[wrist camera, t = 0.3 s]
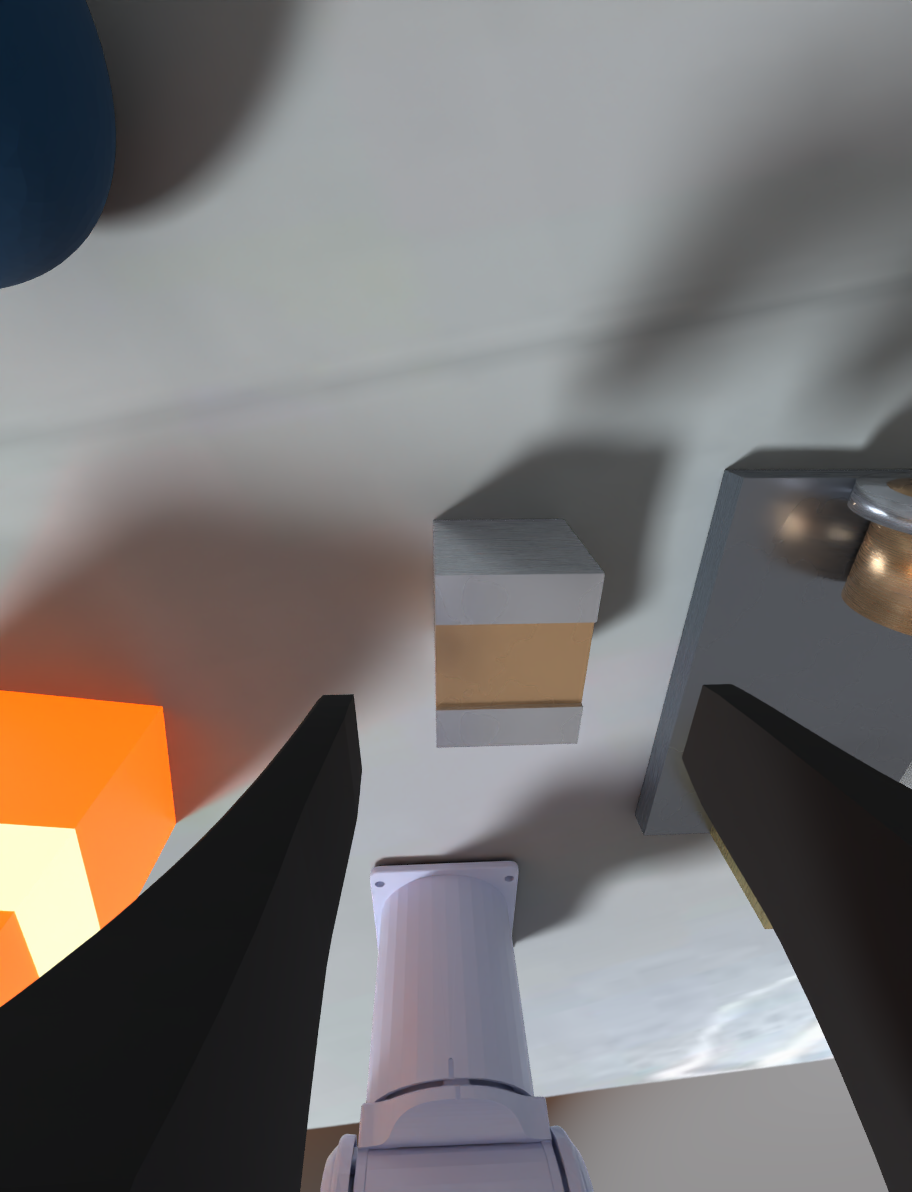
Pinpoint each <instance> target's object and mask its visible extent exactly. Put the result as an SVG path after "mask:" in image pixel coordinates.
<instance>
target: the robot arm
mask: <svg viewBox="0 0 912 1192" xmlns="http://www.w3.org/2000/svg"><path fill="white" fill-rule="evenodd" d="M682 760H683V763H684V765H685V768H686V770H687V772H688V775H689V777H690V780H691V782H692V785H693V787H694V789H695V791H696V794H697V796H698V798H699V800H700V803H701V805H702V807H703V808H704V810H705V812H706V814H707V815H708V817H709V819H710V821H711V822H712V824H713V826H714V828H715V829H716V831H717V833H718V835H719V836H720V838H721V840H722V841H723V843H724V845H725V847H726V848H727V850H728V852H729V853H730V855H731V857H732V858H733V860H734V862H735V863H736V865H737V867H738V869H739V870H740V872H741V874H742V875H743V877H744V879H745V880H746V882H747V884H748V886H749V887H750V889H751V891H752V892H753V894H754V896H755V897H756V899H757V901H758V902H759V904H760V906H761V908H762V909H763V911H764V913H765V914H766V916H767V918H768V920H769V922H770V923H771V925H772V927H773V929H774V931H775V933H776V935H777V936H778V938H779V940H780V942H781V944H782V946H783V948H784V950H785V952H786V954H787V956H788V959H789V961H790V963H791V965H792V967H793V969H794V971H795V973H796V975H797V977H798V979H799V982H800V984H801V986H802V988H803V990H804V992H805V994H806V996H807V998H808V1000H809V1003H810V1005H811V1007H812V1009H813V1011H814V1014H815V1016H816V1018H817V1020H818V1023H819V1025H820V1027H821V1029H822V1032H823V1034H824V1036H825V1038H826V1041H827V1043H828V1045H829V1047H830V1049H831V1052H832V1054H833V1056H834V1058H835V1061H836V1063H837V1065H838V1067H839V1070H840V1072H841V1074H842V1077H843V1079H844V1082H845V1084H846V1086H847V1089H848V1091H849V1094H850V1096H851V1098H852V1101H853V1103H854V1106H855V1108H856V1111H857V1113H858V1115H859V1118H860V1120H861V1122H862V1125H863V1127H864V1130H865V1132H866V1135H867V1137H868V1139H869V1142H870V1144H871V1147H872V1149H873V1152H874V1154H875V1157H876V1159H877V1162H878V1164H879V1167H880V1170H881V1172H882V1175H883V1178H884V1180H885V1183H886V1185H887V1188H888V1191H889V1192H912V789H910V788H908V787H906V786H905V785H903V784H901V783H899V782H897V781H896V780H894V779H892V778H890V777H888V776H887V775H885V774H883V773H881V772H879V771H878V770H876V769H874V768H872V767H871V766H869V765H867V764H866V763H864V762H862V761H860V760H859V759H857V758H855V757H854V756H852V755H850V754H848V753H847V752H845V751H843V750H842V749H840V748H838V747H837V746H835V745H833V744H832V743H830V742H828V741H827V740H825V739H823V738H822V737H820V736H819V735H817V734H815V733H814V732H812V731H810V730H809V729H807V728H805V727H804V726H802V725H801V724H799V723H797V722H796V721H794V720H792V719H791V718H789V717H788V716H786V715H784V714H783V713H781V712H779V711H778V710H776V709H774V708H773V707H771V706H770V705H768V704H766V703H765V702H763V701H761V700H760V699H758V698H756V697H754V696H753V695H751V694H749V693H747V692H746V691H744V690H742V689H740V688H738V687H736V686H734V685H732V684H710V685H703V686H702V689H701V693H700V696H699V699H698V703H697V706H696V710H695V713H694V717H693V720H692V724H691V727H690V731H689V734H688V738H687V741H686V745H685V748H684V752H683V755H682ZM361 774H362V765H361V756H360V747H359V738H358V730H357V721H356V712H355V703H354V694H352V695H323V696H322V697H321V698H320V699H319V700H318V701H317V702H316V704H315V705H314V706H313V708H312V709H311V711H310V712H309V713H308V715H307V716H306V717H305V719H304V720H303V721H302V723H301V724H300V725H299V727H298V728H297V729H296V731H295V732H294V733H293V735H292V736H291V737H290V739H289V740H288V741H287V742H286V744H285V745H284V746H283V748H282V749H281V750H280V751H279V752H278V754H277V755H276V756H275V757H274V759H273V760H272V761H271V762H270V763H269V765H268V766H267V767H266V768H265V770H264V771H263V772H262V773H261V774H260V776H259V777H258V778H257V779H256V780H255V781H254V783H253V784H252V785H251V786H250V787H249V788H248V789H247V790H246V791H245V793H244V794H243V795H242V796H241V797H240V798H239V799H238V800H237V801H236V803H235V804H234V805H233V806H232V807H231V808H230V809H229V810H228V811H227V812H226V814H225V815H224V816H223V817H222V818H221V819H220V820H219V821H218V822H217V823H216V824H215V825H214V826H213V827H212V828H211V829H210V830H209V831H208V832H207V833H206V834H205V835H204V836H203V837H202V838H201V839H200V840H199V841H198V842H197V843H196V844H195V845H194V846H193V847H192V848H191V849H190V850H189V851H188V852H187V853H186V854H185V855H184V856H183V857H182V858H181V859H180V860H179V861H178V862H177V863H176V864H175V865H173V866H172V867H171V868H170V869H169V870H168V871H167V872H166V873H165V874H164V875H163V876H161V877H160V878H159V879H158V880H157V881H156V882H155V883H154V884H152V885H151V886H150V887H149V888H148V889H147V890H146V891H145V892H143V893H142V894H141V895H140V896H139V897H138V898H137V899H136V900H135V901H133V902H132V903H131V904H130V905H129V906H128V907H126V908H125V909H124V910H123V911H122V912H121V913H120V914H118V915H117V916H116V917H115V918H114V919H112V920H111V921H110V922H109V923H108V924H106V925H105V926H104V927H103V928H102V929H100V930H99V931H98V932H97V933H96V934H94V935H93V936H92V937H91V938H89V939H88V940H87V941H85V942H84V943H83V944H82V945H80V946H79V947H78V948H77V949H75V950H74V951H73V952H71V953H70V954H69V955H68V956H66V957H65V958H64V959H63V960H61V961H60V962H59V963H57V964H56V965H55V966H54V967H52V968H51V969H50V970H49V971H47V972H46V973H45V974H43V975H42V976H41V977H40V978H38V979H37V980H36V981H34V982H33V983H32V984H30V985H29V986H28V987H26V988H25V989H24V990H22V991H21V992H20V993H19V994H17V995H16V996H15V997H13V998H12V999H10V1000H9V1001H8V1002H6V1003H5V1004H4V1005H2V1006H1V1007H0V1192H300V1187H301V1178H302V1168H303V1159H304V1151H305V1141H306V1132H307V1123H308V1114H309V1105H310V1096H311V1088H312V1080H313V1071H314V1063H315V1054H316V1046H317V1038H318V1029H319V1022H320V1014H321V1006H322V998H323V990H324V983H325V975H326V967H327V961H328V956H329V950H330V944H331V939H332V934H333V929H334V924H335V920H336V915H337V910H338V906H339V901H340V896H341V892H342V887H343V882H344V878H345V873H346V868H347V864H348V859H349V854H350V850H351V845H352V840H353V835H354V831H355V826H356V821H357V814H358V804H359V795H360V785H361ZM518 874H519V870H518V865H517V863H516V862H513V861H491V862H466V863H442V864H417V865H393V866H377V867H374V868H373V869H372V870H371V873H370V883H371V892H372V901H373V909H374V918H375V927H376V936H377V945H378V963H377V975H376V987H375V999H374V1012H373V1024H372V1036H371V1048H370V1061H369V1073H368V1085H367V1098H366V1103H364V1104H363V1105H362V1106H361V1117H360V1129H359V1141H358V1147H357V1136H356V1135H351V1134H345V1135H343V1136H342V1137H341V1139H340V1142H339V1145H338V1146H337V1147H336V1148H335V1149H334V1150H333V1152H332V1153H331V1154H330V1156H329V1157H328V1159H327V1161H326V1165H325V1169H324V1173H323V1179H322V1184H321V1189H320V1192H594V1190H593V1187H592V1183H591V1180H590V1177H589V1174H588V1170H587V1168H586V1165H585V1162H584V1160H583V1158H582V1156H581V1154H580V1152H579V1151H578V1149H577V1148H576V1146H575V1145H574V1144H573V1143H572V1141H571V1140H570V1138H569V1136H568V1134H567V1133H566V1132H565V1131H564V1129H563V1128H562V1127H560V1126H551V1127H550V1126H549V1119H548V1113H547V1106H546V1100H545V1098H544V1097H534V1092H533V1085H532V1077H531V1070H530V1063H529V1056H528V1049H527V1042H526V1035H525V1027H524V1020H523V1013H522V1006H521V999H520V992H519V985H518V977H517V970H516V963H515V956H514V949H513V942H512V929H513V920H514V911H515V902H516V893H517V883H518Z"/></svg>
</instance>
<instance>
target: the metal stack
mask: <svg viewBox="0 0 912 1192" xmlns="http://www.w3.org/2000/svg"><path fill="white" fill-rule="evenodd" d="M710 684H732V685H734V686H736V687H738V688H740V689H742V690H744V691H746V692H747V693H749V694H751V695H753V696H754V697H756V698H758V699H760V700H761V701H763V702H765V703H766V704H768V705H770V706H771V707H773V708H774V709H776V710H778V711H779V712H781V713H783V714H784V715H786V716H788V717H789V718H791V719H792V720H794V721H796V722H797V723H799V724H801V725H802V726H804V727H805V728H807V729H809V730H810V731H812V732H814V733H815V734H817V735H819V736H820V737H822V738H823V739H825V740H827V741H828V742H830V743H832V744H833V745H835V746H837V747H838V748H840V749H842V750H843V751H845V752H847V753H848V754H850V755H852V756H854V757H855V758H857V759H859V760H860V761H862V762H864V763H866V764H867V765H869V766H871V767H872V768H874V769H876V770H878V771H879V772H881V773H883V774H885V775H887V776H888V777H890V778H892V779H894V780H896V781H897V782H899V781H900V779H901V778H902V776H903V774H904V773H905V771H906V769H907V768H908V766H909V764H910V763H911V761H912V470H725V471H724V475H723V479H722V483H721V487H720V491H719V494H718V498H717V502H716V506H715V510H714V514H713V518H712V521H711V525H710V529H709V533H708V537H707V541H706V544H705V548H704V552H703V556H702V560H701V564H700V568H699V571H698V575H697V579H696V583H695V587H694V591H693V594H692V598H691V602H690V606H689V610H688V614H687V618H686V621H685V625H684V629H683V633H682V637H681V641H680V644H679V648H678V652H677V656H676V660H675V664H674V668H673V671H672V675H671V679H670V683H669V687H668V691H667V694H666V698H665V702H664V706H663V710H662V714H661V718H660V721H659V725H658V729H657V733H656V737H655V741H654V744H653V748H652V752H651V756H650V760H649V764H648V768H647V771H646V775H645V779H644V783H643V787H642V791H641V794H640V798H639V802H638V806H637V810H636V814H635V816H636V818H637V820H638V823H639V825H640V827H641V829H642V832H643V834H644V835H665V834H691V833H710V834H711V836H712V837H713V839H714V841H715V843H716V844H717V846H718V848H719V850H720V851H721V853H722V855H723V857H724V858H725V860H726V862H727V864H728V865H729V867H730V869H731V871H732V872H733V874H734V876H735V878H736V879H737V881H738V883H739V885H740V886H741V888H742V890H743V892H744V893H745V895H746V897H747V899H748V900H749V902H750V904H751V906H752V907H753V909H754V911H755V913H756V914H757V916H758V918H759V920H760V921H761V923H762V925H763V927H764V928H765V929H773V927H772V925H771V923H770V922H769V920H768V918H767V916H766V914H765V913H764V911H763V909H762V908H761V906H760V904H759V902H758V901H757V899H756V897H755V896H754V894H753V892H752V891H751V889H750V887H749V886H748V884H747V882H746V880H745V879H744V877H743V875H742V874H741V872H740V870H739V869H738V867H737V865H736V863H735V862H734V860H733V858H732V857H731V855H730V853H729V852H728V850H727V848H726V847H725V845H724V843H723V841H722V840H721V838H720V836H719V835H718V833H717V831H716V829H715V828H714V826H713V824H712V822H711V821H710V819H709V817H708V815H707V814H706V812H705V810H704V808H703V807H702V805H701V803H700V800H699V798H698V796H697V794H696V791H695V789H694V787H693V785H692V782H691V780H690V777H689V775H688V772H687V770H686V768H685V765H684V763H683V760H682V755H683V752H684V748H685V745H686V741H687V738H688V734H689V731H690V727H691V724H692V720H693V717H694V713H695V710H696V706H697V703H698V699H699V696H700V693H701V689H702V686H703V685H710Z"/></svg>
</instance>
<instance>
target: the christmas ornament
mask: <svg viewBox="0 0 912 1192" xmlns="http://www.w3.org/2000/svg"><path fill="white" fill-rule="evenodd" d="M115 152H116V127H115V113H114V104H113V95H112V90H111V85H110V80H109V75H108V71H107V66H106V62H105V58H104V54H103V50H102V46H101V43H100V40H99V37H98V34H97V31H96V27H95V24H94V22H93V19H92V16H91V14H90V11H89V8H88V5H87V3H86V0H0V289H1V288H5V287H9V286H13V285H16V284H20V283H23V282H26V281H29V280H31V279H34V278H36V277H38V276H40V275H42V274H44V273H46V272H48V271H50V270H51V269H53V268H55V267H56V266H58V265H59V264H60V263H62V262H63V261H64V260H66V259H67V258H68V257H69V256H70V255H71V254H72V253H73V252H75V251H76V250H77V249H78V248H79V247H80V246H81V244H82V243H83V242H84V241H85V240H86V238H87V237H88V236H89V234H90V233H91V231H92V230H93V228H94V226H95V225H96V223H97V221H98V219H99V217H100V215H101V213H102V211H103V208H104V206H105V203H106V200H107V196H108V193H109V190H110V186H111V182H112V177H113V171H114V163H115Z"/></svg>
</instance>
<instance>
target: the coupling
mask: <svg viewBox="0 0 912 1192" xmlns="http://www.w3.org/2000/svg"><path fill="white" fill-rule="evenodd" d="M433 550H434V631H435V694H436V741H437V748H441V747H475V746H508V745H542V744H576V743H577V740H578V734H579V728H580V722H581V716H582V710H583V706H582V703H581V702H582V696H583V689H584V683H585V677H586V671H587V665H588V658H589V652H590V646H591V640H592V634H593V628H594V622H597V619H598V613H599V607H600V600H601V594H602V588H603V582H604V576H605V573H604V572H603V570H602V569H601V568H600V566H599V565H598V564H597V562H596V561H595V560H594V558H593V557H592V556H591V555H590V553H589V552H588V551H587V549H586V548H585V547H584V545H583V544H582V543H581V541H580V540H579V539H578V537H577V536H576V535H575V533H574V532H573V531H572V529H571V528H570V527H569V525H568V524H567V523H566V522H565V520H564V519H489V520H433Z"/></svg>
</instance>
